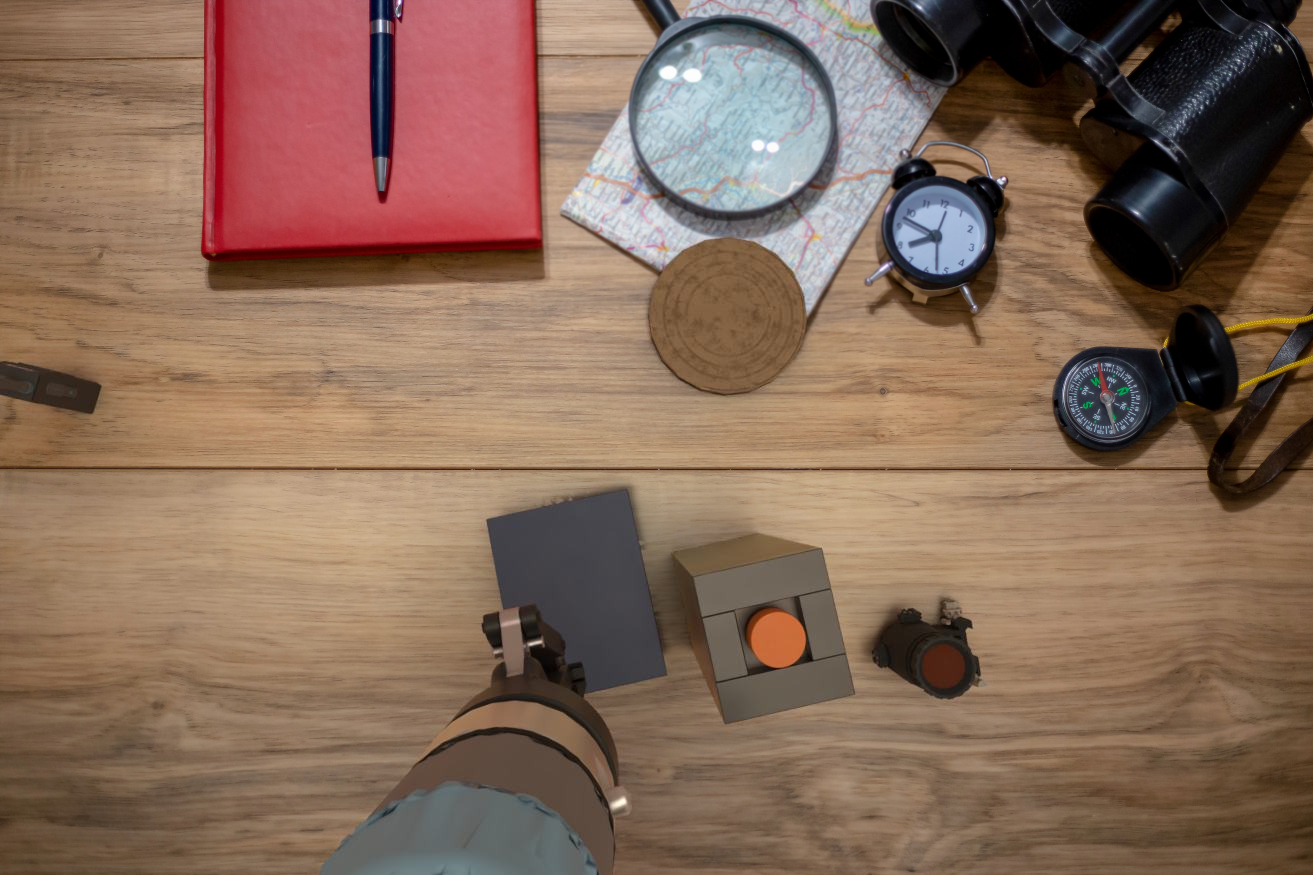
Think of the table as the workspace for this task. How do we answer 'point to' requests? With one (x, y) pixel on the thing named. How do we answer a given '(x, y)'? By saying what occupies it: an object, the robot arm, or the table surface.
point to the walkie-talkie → (48, 387)
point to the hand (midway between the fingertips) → (563, 677)
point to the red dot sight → (931, 652)
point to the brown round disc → (727, 316)
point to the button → (776, 637)
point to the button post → (731, 592)
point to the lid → (583, 584)
